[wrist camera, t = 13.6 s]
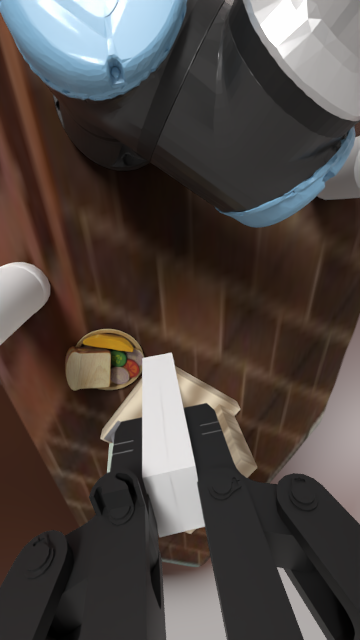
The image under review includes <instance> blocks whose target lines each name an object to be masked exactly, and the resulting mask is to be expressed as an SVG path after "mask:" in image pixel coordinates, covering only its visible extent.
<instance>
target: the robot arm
mask: <svg viewBox="0 0 360 640" xmlns="http://www.w3.org/2000/svg"><path fill="white" fill-rule="evenodd" d="M0 12H1V14H2V16H3V19H4V21H5V23H6V25H7V27H8V29H9V31H10V32H11V34H12V36H13V38H14V41H15V43H16V45H17V47H18V49H19V51H20V52H21V53H22V55H23V57H24V59H25V61H26V62H27V63H29V65H30V67H31V69H32V71H33V72H34V73H36V74H37V75H38V76H39V77H40V78H41V79H42V81H43V82H44V83H45V84H46V85H47V87H48V88H49V89H50V91H51V92H52V93H53V97H54V103H55V107H56V111H57V114H58V117H59V119H60V122H61V124H62V126H63V128H64V130H65V132H66V133H67V135H68V136H69V138H70V139H71V141H72V142H73V143H74V144H75V146H76V147H77V148H78V149H79V150H80V151H81V152H82V153H83V154H84V155H85V156H87V157H88V158H89V159H90V160H92V161H93V162H95V163H97V164H98V165H100V166H103V167H105V168H108V169H112V170H117V171H130V170H135V169H138V168H141V167H143V166H145V165H147V164H149V163H152V164H153V165H155V166H156V167H158V168H159V169H161V170H162V171H164V172H165V173H166V174H168V175H169V176H171V177H172V178H174V179H175V180H177V181H178V182H180V183H181V184H183V185H184V186H185V187H187V188H188V189H190V190H191V191H193V192H194V193H196V194H197V195H199V196H200V197H202V198H203V199H204V200H206V201H207V202H209V203H210V204H212V205H213V206H214V207H215V208H216V209H217V210H218V211H219V212H220V213H223V214H225V215H227V216H231V217H233V218H234V219H236V220H238V221H239V222H241V223H243V224H244V225H247V226H250V227H265V226H270V225H273V224H276V223H278V222H280V221H282V220H284V219H286V218H288V217H290V216H291V215H293V214H295V213H296V212H298V211H299V210H300V209H302V208H303V207H304V206H306V205H307V204H308V203H309V202H311V201H312V200H313V199H314V198H315V197H316V196H317V195H318V194H319V193H320V192H321V191H322V190H323V189H324V188H325V182H326V181H327V180H329V179H330V178H332V177H334V176H336V175H337V174H338V172H339V171H340V170H341V168H342V167H343V165H344V164H345V162H346V160H347V159H348V157H349V155H350V152H351V150H352V148H353V146H354V141H355V129H354V125H356V124H357V123H358V122H359V121H360V0H234V2H233V5H232V6H230V5H229V4H228V3H226V2H225V0H0ZM113 444H114V446H113V451H112V459H111V467H110V472H108V473H106V474H105V475H104V476H103V477H101V478H100V479H99V480H98V481H97V482H96V484H95V485H94V486H93V488H92V490H91V493H90V496H89V498H90V501H91V503H92V506H93V508H94V510H95V513H96V515H95V516H94V517H93V518H92V519H91V520H90V521H88V522H87V523H86V524H84V525H83V526H81V527H79V528H77V529H76V530H74V531H72V532H70V533H69V534H67V535H65V536H64V535H63V534H62V532H58V531H55V530H52V531H47V532H44V533H42V534H40V535H38V536H36V537H35V538H33V539H32V540H31V541H30V542H29V543H28V544H27V545H26V546H25V547H24V548H23V549H22V551H21V552H20V554H19V555H18V556H17V558H16V559H15V561H14V563H13V565H12V567H11V569H10V571H9V572H8V574H7V576H6V578H5V580H4V582H3V583H2V585H1V587H0V640H166V630H165V613H164V595H163V578H162V560H161V556H160V551H159V548H158V534H159V537H163V536H167V535H171V534H175V533H179V532H184V531H188V530H192V529H196V528H200V527H205V529H206V534H207V539H208V545H209V551H210V556H211V561H212V566H213V571H214V576H215V581H216V586H217V591H218V596H219V601H220V606H221V612H222V617H223V622H224V627H225V632H226V637H227V640H304V639H303V636H302V634H301V631H300V628H299V625H298V623H297V621H296V618H295V615H294V612H293V610H292V607H291V604H290V602H289V599H288V596H287V594H286V591H285V588H284V586H283V583H282V580H281V578H280V575H279V572H278V570H277V567H280V568H284V570H285V572H286V573H287V575H288V577H289V578H290V580H291V581H292V583H293V585H294V586H295V588H296V590H297V591H298V593H299V594H300V596H301V598H302V599H303V601H304V603H305V604H306V606H307V607H308V609H309V610H310V612H311V614H312V616H313V617H314V619H315V620H316V622H317V624H318V625H319V627H320V629H321V630H322V632H323V633H324V635H325V637H326V638H327V640H360V524H359V523H358V522H357V521H356V520H355V519H354V518H353V517H352V516H351V515H350V514H349V513H348V512H347V511H346V510H345V509H344V508H343V507H342V506H341V504H340V503H339V502H337V500H336V499H335V498H334V497H333V496H332V495H331V494H330V493H329V492H328V491H327V490H326V489H325V488H324V487H323V486H322V485H321V484H320V483H319V482H317V481H316V480H315V479H313V478H311V477H309V476H306V475H304V474H294V473H293V474H290V475H286V476H284V477H283V478H282V479H281V480H280V481H279V483H278V484H269V483H260V482H256V481H253V480H250V479H248V478H246V477H245V476H244V475H242V474H241V473H240V472H239V470H238V469H237V468H236V466H235V464H234V461H233V459H232V456H231V453H230V451H229V448H228V445H227V442H226V440H225V437H224V434H223V431H222V429H221V426H220V423H219V420H218V418H217V415H216V412H215V410H214V409H213V408H212V407H211V406H210V405H208V404H207V403H204V404H199V405H194V406H189V407H185V408H183V404H182V399H181V394H180V390H179V385H178V380H177V375H176V370H175V366H174V361H173V356H172V353H167V354H162V355H157V356H152V357H147V358H142V417H141V418H136V419H131V420H126V421H121V423H120V425H119V426H118V428H117V430H116V431H115V435H114V443H113Z"/></svg>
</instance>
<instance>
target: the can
mask: <svg viewBox="0 0 360 640" xmlns="http://www.w3.org/2000/svg"><path fill="white" fill-rule="evenodd" d="M317 196H318V197H319V198H322V199H324V200H333V199H348V198H360V136H358V137H355V141H354V146H353V148H352V150H351V152H350V155H349V157H348V159H347V160H346V162H345V164H344V165H343V167H342V168H341V170H340V171H339V172H338V174H337V175H336V176H334V177H332V178H330V179H329V180H327V181H326V182H325V188H324V189H323V190H322V191H321V192H320V193H319V194H318V195H317Z"/></svg>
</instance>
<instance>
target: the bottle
mask: <svg viewBox="0 0 360 640" xmlns="http://www.w3.org/2000/svg"><path fill="white" fill-rule="evenodd" d="M49 296H50V284H49V281H48V279H47V277H46V276H45V274H44V273H43V272H42V271H41V270H40V269H38V268H37V267H35V266H34V265H32V264H28V263H25V262H14V263H9V264H6V265H4V266H1V267H0V345H1V344H2V343H3V342H4V341H5V340H6V339H7V338H8V337H9V336H10V335H11V334H13V333H14V332H15V331H16V330H17V329H18V328H19V327H20V326H21V325H22V324H23V323H24V322H25V321H27V320H28V319H29V318H30V317H31V316H32V315H33V314H34V313H36V312H37V311H38V310H39V309H40V308H41V307H43V306H44V304H45V303H46V302H47V301H48V298H49Z"/></svg>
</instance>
